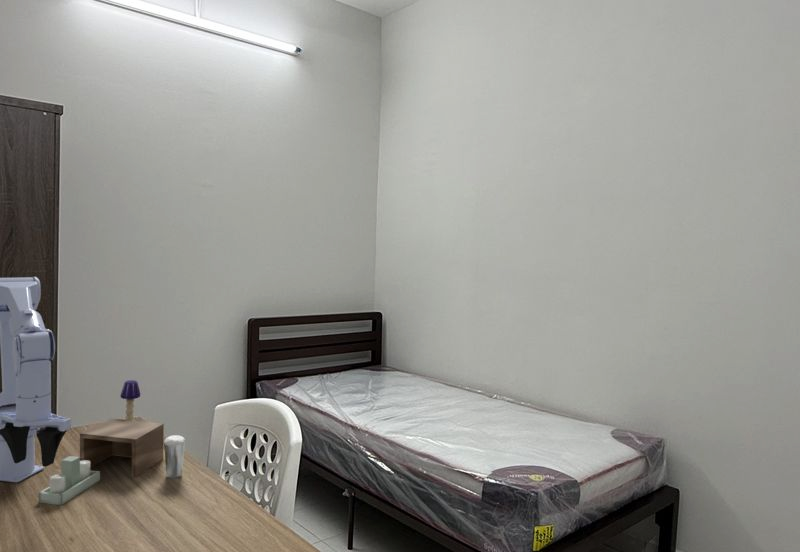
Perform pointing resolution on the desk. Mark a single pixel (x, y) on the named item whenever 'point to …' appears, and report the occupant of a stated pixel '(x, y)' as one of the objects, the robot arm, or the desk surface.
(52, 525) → the desk surface
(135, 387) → the toy lamp
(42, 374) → the robot arm
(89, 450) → the brown open box
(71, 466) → the caddy
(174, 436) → the milkshake
